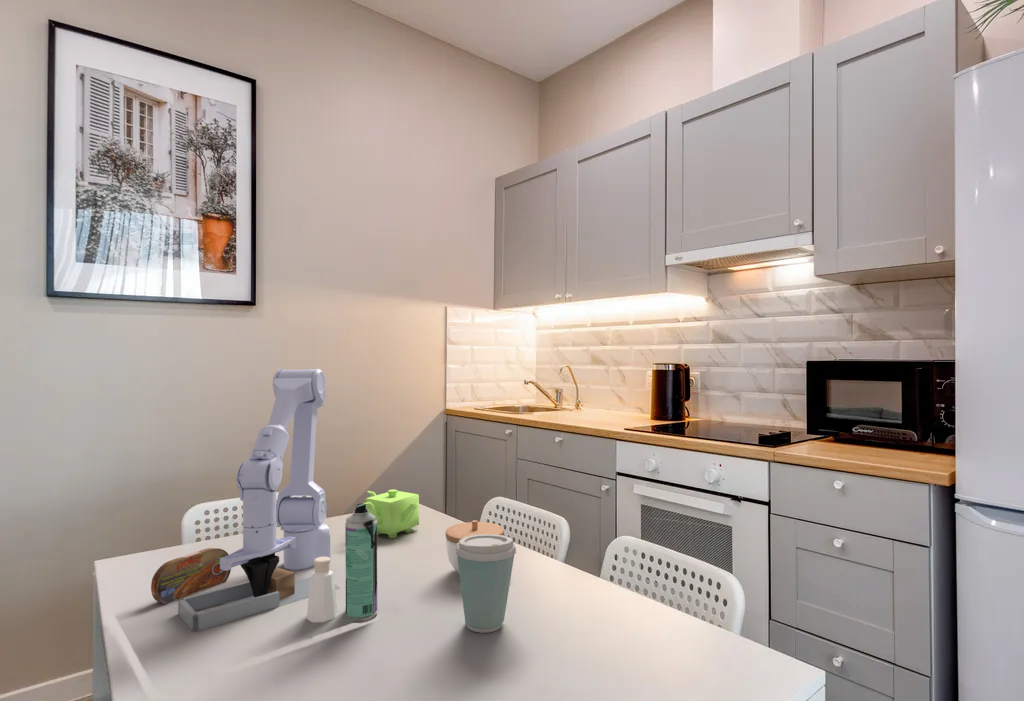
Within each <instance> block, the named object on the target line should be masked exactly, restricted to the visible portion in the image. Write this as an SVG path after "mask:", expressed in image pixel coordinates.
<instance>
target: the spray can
mask: <svg viewBox="0 0 1024 701" xmlns="http://www.w3.org/2000/svg"><path fill="white" fill-rule="evenodd" d="M364 503H365V502H363V503H358V504H356V506H355V509H354V511H352V514H351V515H349V516H347V517H346V518H345V521H346V522H345V523H344V524H345V525H344V526H345V527H344V528H345V529H344V530H345V536H344V537H345V540H344V541H345V614H346V616H348V617H351V618H361V619H358V620H355V621H352V622H351V623H352V624H361V623H363V624H364V623H366V622H370V621H373V620H374V619H376V617H377V616H378V613H376V612H377V611H378V535H377V520H376V516H375V515H372V514H371V513H369V510H367V509H366V504H364Z"/></svg>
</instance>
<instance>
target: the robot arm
mask: <svg viewBox="0 0 1024 701" xmlns="http://www.w3.org/2000/svg"><path fill="white" fill-rule="evenodd" d="M326 385H327V381H326V377H325V374H324V371H322V369H320V368H314V369H313V368H311V369H308V368H307V369H305V368H304V369H302V368H301V369H300V368H299V369H284V368H278V369H277V370H276V371H275V373H274V375H273V377H272V389H273V390H272V391H273V396H274V397H275V399H274V404H273V407H272V410H271V413H270V418H269V422H268V424H267V426H264V427H262V428H261V429H260V430H259V432H258V434H257V438H256V440H255V443H254V445H253V448H252V451H251V453H250V455H249V456H248V457H249V458H248V459H247V460H246V461H244V462H242V463H241V464H240V465H239V466H238V469H237V474H236V481H235V482H236V486H237V488H238V491H239V499H240V501H242V548H240V549H238V550H235V551H234V552H231V553H230V554H229V555H227V556H225V557H222V558H220V569H222V570H225V571H228V570H231V571H232V568H234V567H235V568H236V567H238V566H240V567H241V568H242V570H243V571H244V573H245V575H246V577H247V579H248V581H249V582H250V584H251V588H252V591H253V596H254V597H259V596H262V595H266V594H267V591H268V587H269V583H270V580H271V577H272V574H273V572H274V570H275V569H277V566H278V564H279V563H280V556H279V555H276V553H278V552H279V553H280V552H282V551H283V568H284V569H285V570H287V569H288V570H292V571H293V570H306V569H309V568H312V567H314V560H315V559H316V558H318V557H329V558H330V559H331V533H330V528H329V527H328V525H327V524H326V523H324V522H325V519H326V517H327V510H328V509H327V502H326V492H325V490H324V489H323V488H322V487H321V486H320V485H318V484H317V483H316V482H315V481H314V472H315V469H314V468H315V459H316V458H315V457H316V456H315V454H316V439H317V438H316V436H317V421H318V420H317V419H318V410H319V409H320V408H321V407H323V406H324V405H325V400H326V387H327V386H326ZM292 419H293V426H292V427H293V428H292V442H291V444H292V446H291V462H290V478H289V483H288V484H287V485H286V486H285V487H283V488H281V489H280V491H279V492H278V493H277V490H278V488H279V487H280V485H281V482H282V479H283V468H284V462H283V457H284V455H285V452H286V449H287V445H288V443H289V441H290V435H289V433H288V431H287V430H288V428H289V425H290V423H291V421H292ZM277 494H278V495H277ZM295 496H296V497H295ZM297 496H299V497H297ZM301 496H303V497H301ZM304 496H305V497H304ZM306 496H309V497H306ZM277 526H278V527H280V531H283V537H282V538H277Z"/></svg>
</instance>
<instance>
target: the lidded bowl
mask: <svg viewBox="0 0 1024 701" xmlns="http://www.w3.org/2000/svg"><path fill="white" fill-rule="evenodd" d="M481 534H494V535H503V536H505V529H504V528H503V526H501V525H499V524H496V523H494V522H493V523H492V522H487V521H486V522H485V521H479V520H477V519H476V520H472V521H468V522H467V521H466V522H462V523H457V524H455V525H452V526H449V527H448V528H447V529H446V530H445V540H446V541H445V542H446V545H445V546H446V553H447V557H448V560H449V563H450V565H451V567H452V568H453V569H454V570H455V571H456V572H458V575H459V576H460V574H459V566H458V557H457V555H456V550H455V549H456V544H457V543H458V542H459V540H461V539H463V538H464V537H467V536H473V535H481Z"/></svg>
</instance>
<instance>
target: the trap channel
mask: <svg viewBox="0 0 1024 701" xmlns="http://www.w3.org/2000/svg"><path fill="white" fill-rule="evenodd" d="M310 580H311V576H310V577H305V578H302V579H298V580H295V594H292V595H290V596H288V597H285V598H283V599H281V600H279V592H278V591H276V592H273V593H269V594H266V595H262V596H259V597H254V596H253V591H252V588H251V584H250V582H249V580H248V581H244V582H240V583H237V584H232V585H229V586H224V587H221V588H217V589H213V590H210V591H209V590H208V591H205V592H202V593H198V594H194V595H193V594H192V595H191V596H190V595H189V596H186V597H183V598H180V599H178V600H177V602H178V603H177V605H178V609H177V613H178V615H179V617H180V618H181V619H182V620H183V622H184V623H185V624H186V625H187V626H188V628H189V629H190V630H191V631H192V633H196V632H198V631H202V630H205V629H206V630H207V629H209V628H213V627H215V626H218V625H222V624H225V623H229V622H232V621H235V620H239V619H242V618H245V617H249V616H252V615H255V614H258V613H263V612H265V611H269V610H271V609H275V608H279V607H281V606H286V605H288V604H292V603H296V602H298V601H302V600H306V599H309V590H310ZM338 589H341V587H340V586H338V585H337V584H335V591H336V590H338ZM221 604H222V605H223V604H224V605H223V606H220V607H217V608H213V609H209V610H207V611H203V612H199V613H197V611H200V610H203V609H207V608H210V607H213V606H218V605H221Z"/></svg>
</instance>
